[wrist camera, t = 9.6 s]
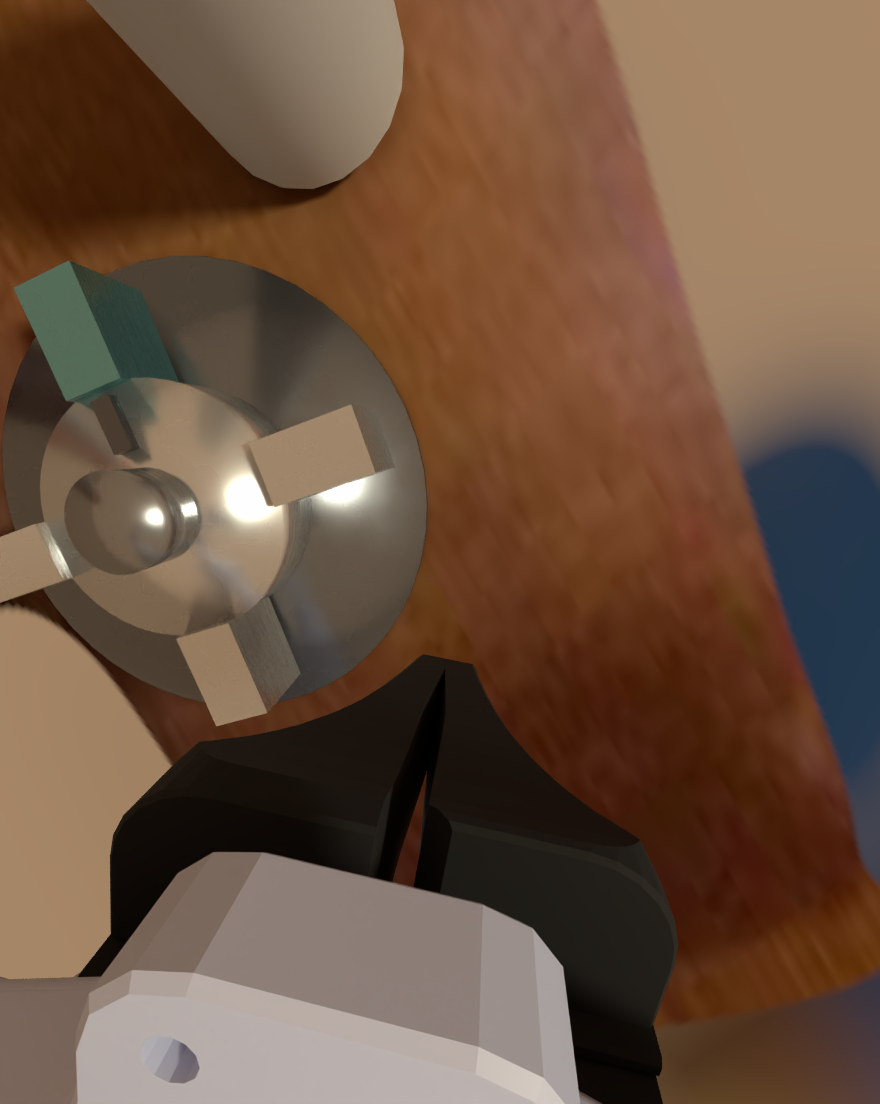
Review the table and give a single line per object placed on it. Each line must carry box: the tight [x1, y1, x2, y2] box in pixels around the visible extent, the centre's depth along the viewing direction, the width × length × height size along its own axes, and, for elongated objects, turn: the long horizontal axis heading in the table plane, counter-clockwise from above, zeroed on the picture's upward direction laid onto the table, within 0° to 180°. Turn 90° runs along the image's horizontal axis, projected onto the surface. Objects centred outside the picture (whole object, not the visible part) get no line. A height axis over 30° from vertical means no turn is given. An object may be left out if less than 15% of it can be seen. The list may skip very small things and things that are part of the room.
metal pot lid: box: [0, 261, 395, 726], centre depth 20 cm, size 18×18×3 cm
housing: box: [2, 256, 427, 702], centre depth 19 cm, size 20×20×6 cm
